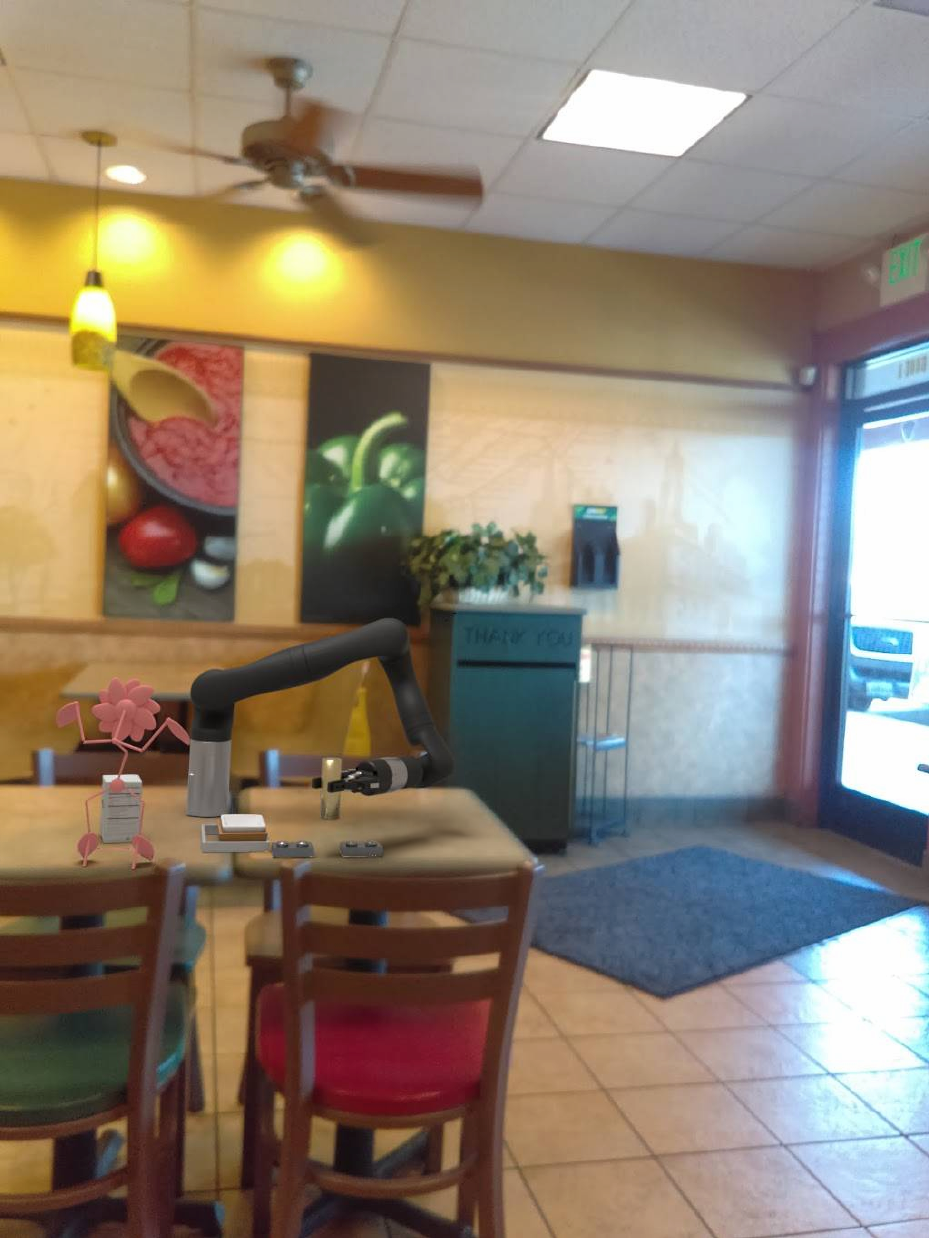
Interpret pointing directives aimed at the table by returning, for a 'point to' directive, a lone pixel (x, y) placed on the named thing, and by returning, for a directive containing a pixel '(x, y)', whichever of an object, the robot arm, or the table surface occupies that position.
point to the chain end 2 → (361, 848)
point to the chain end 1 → (292, 849)
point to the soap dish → (242, 828)
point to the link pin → (329, 800)
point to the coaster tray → (230, 846)
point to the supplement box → (120, 810)
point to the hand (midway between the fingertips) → (321, 785)
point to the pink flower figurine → (123, 717)
